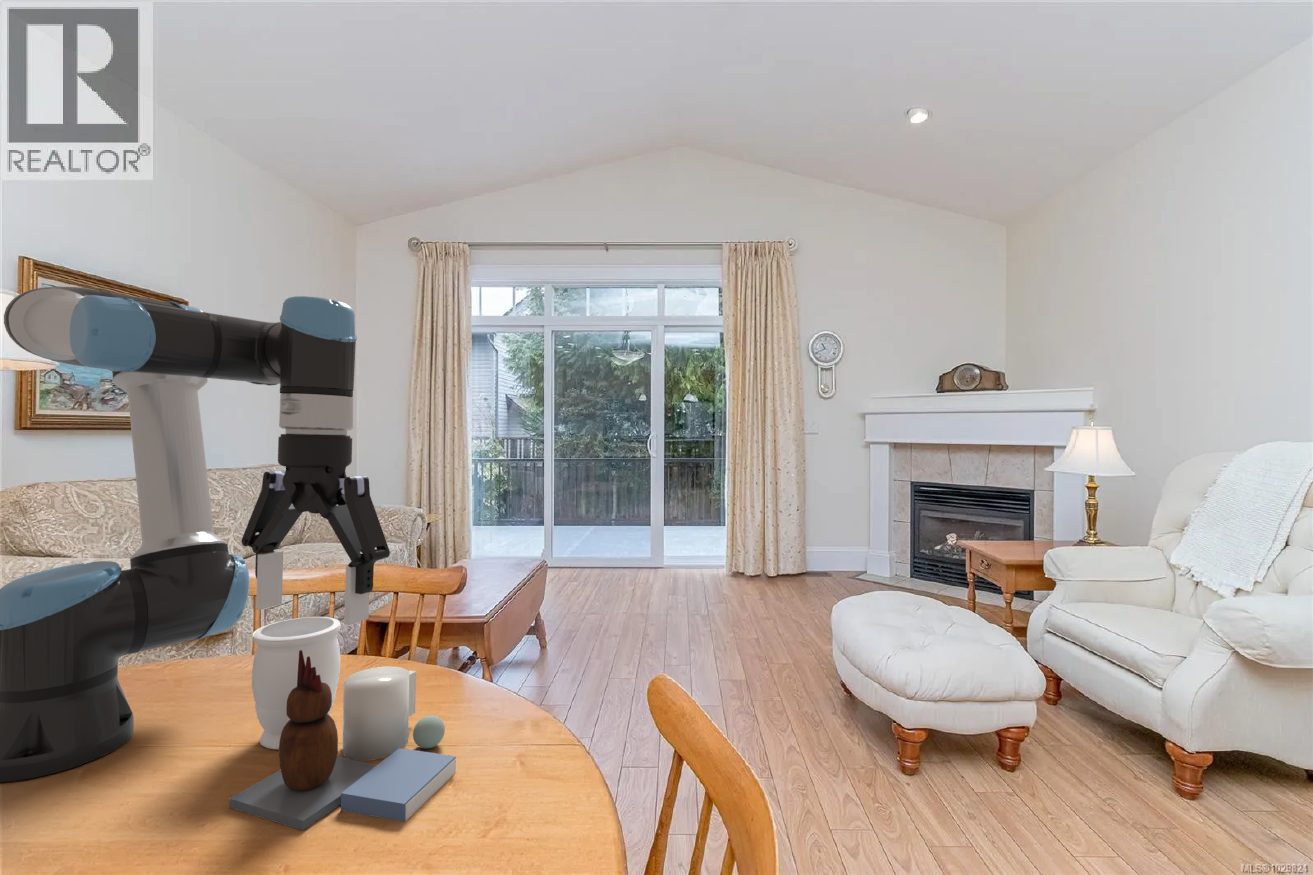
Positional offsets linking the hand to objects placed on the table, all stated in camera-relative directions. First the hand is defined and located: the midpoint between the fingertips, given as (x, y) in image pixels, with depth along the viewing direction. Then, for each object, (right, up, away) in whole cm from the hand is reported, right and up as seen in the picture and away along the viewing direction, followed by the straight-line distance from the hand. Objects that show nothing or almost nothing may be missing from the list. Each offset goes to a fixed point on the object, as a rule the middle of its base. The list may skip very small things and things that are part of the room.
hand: (311, 614), depth 70 cm
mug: (+3, -21, +12) cm, 24 cm away
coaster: (0, -21, 0) cm, 21 cm away
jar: (-9, -21, +12) cm, 26 cm away
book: (+10, -21, 0) cm, 24 cm away
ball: (+10, -21, +10) cm, 25 cm away
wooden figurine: (0, -20, 0) cm, 20 cm away
